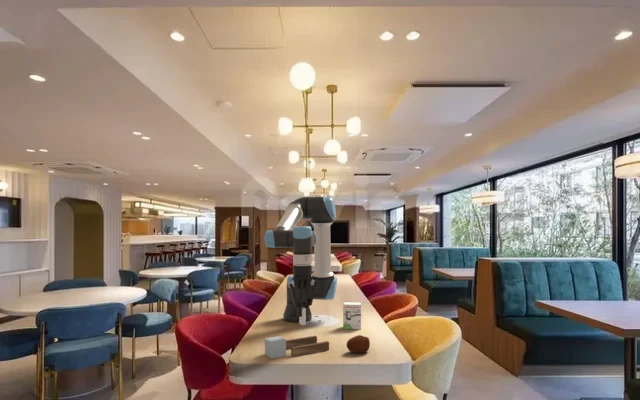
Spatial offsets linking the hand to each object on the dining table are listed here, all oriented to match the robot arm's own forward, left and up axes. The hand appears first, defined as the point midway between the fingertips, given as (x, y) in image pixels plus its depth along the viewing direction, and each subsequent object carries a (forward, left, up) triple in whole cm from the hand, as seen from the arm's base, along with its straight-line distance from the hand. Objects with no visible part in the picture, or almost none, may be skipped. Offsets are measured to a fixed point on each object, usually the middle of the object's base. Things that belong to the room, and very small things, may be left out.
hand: (302, 324), depth 158 cm
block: (+1, -12, -10) cm, 16 cm away
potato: (+15, +17, -10) cm, 24 cm away
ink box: (-17, +37, -10) cm, 42 cm away
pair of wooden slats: (+1, +1, -10) cm, 10 cm away
